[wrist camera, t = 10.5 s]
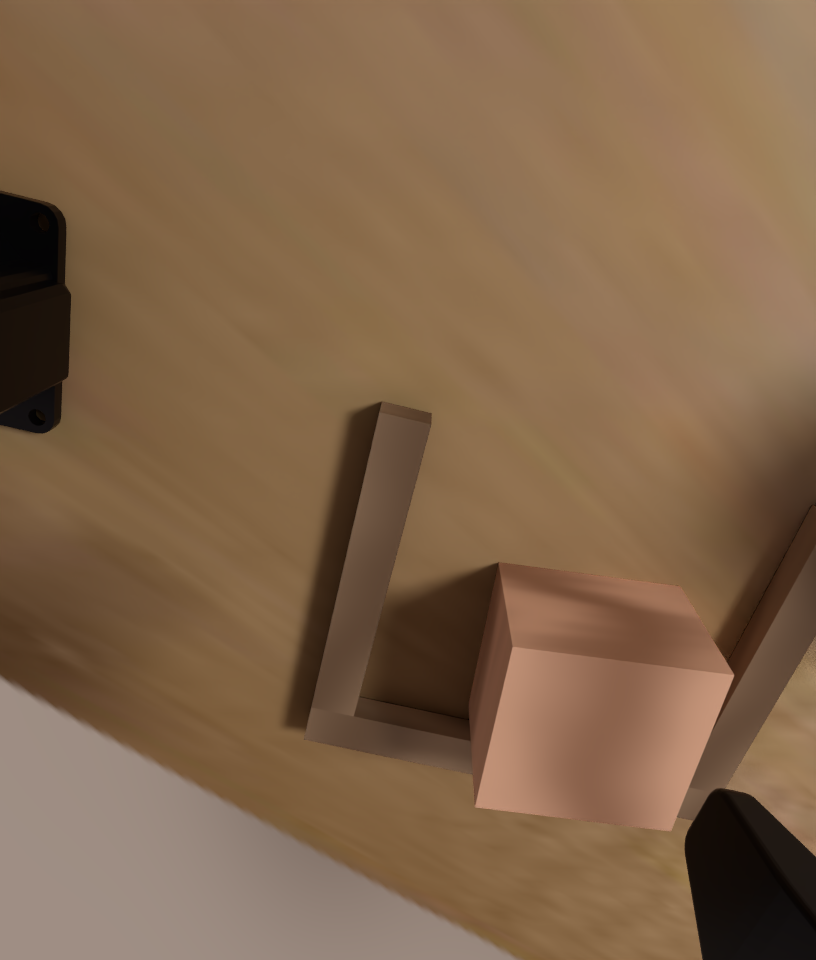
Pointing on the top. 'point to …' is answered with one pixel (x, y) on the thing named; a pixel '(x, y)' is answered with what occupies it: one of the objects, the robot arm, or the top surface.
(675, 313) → the top surface
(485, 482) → the top surface
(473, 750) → the terracotta block
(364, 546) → the walnut bay
